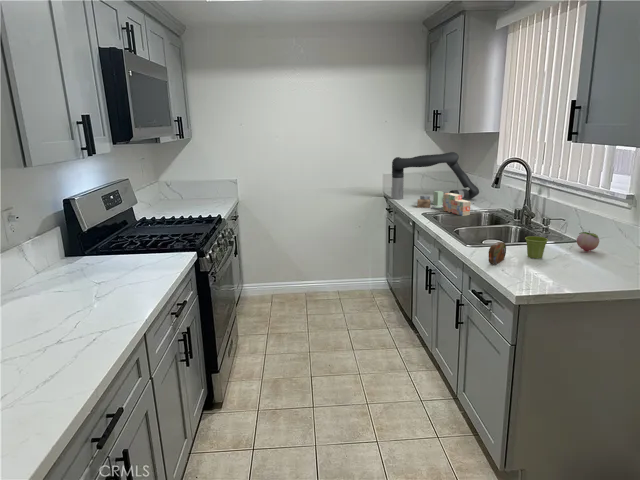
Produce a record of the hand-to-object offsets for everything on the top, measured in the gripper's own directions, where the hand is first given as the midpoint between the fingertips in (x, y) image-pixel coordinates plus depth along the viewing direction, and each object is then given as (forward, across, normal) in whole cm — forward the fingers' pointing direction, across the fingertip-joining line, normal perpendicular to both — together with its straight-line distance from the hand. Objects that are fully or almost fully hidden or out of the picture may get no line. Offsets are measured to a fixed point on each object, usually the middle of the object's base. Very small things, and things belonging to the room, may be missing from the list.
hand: (439, 196), depth 328 cm
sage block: (+2, 0, +6) cm, 6 cm away
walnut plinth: (+15, 0, +6) cm, 16 cm away
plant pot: (+52, +124, +6) cm, 134 cm away
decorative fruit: (+24, +130, +6) cm, 133 cm away
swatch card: (+10, +10, +6) cm, 16 cm away
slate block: (+6, -9, +6) cm, 13 cm away
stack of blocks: (+11, +29, +6) cm, 32 cm away
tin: (+72, +120, +6) cm, 140 cm away
